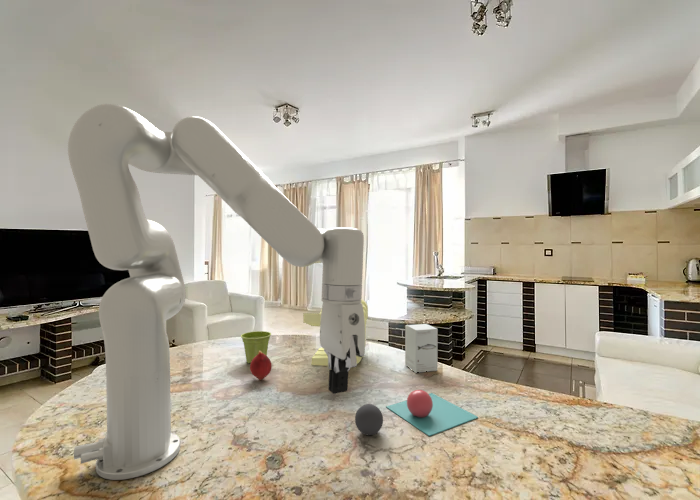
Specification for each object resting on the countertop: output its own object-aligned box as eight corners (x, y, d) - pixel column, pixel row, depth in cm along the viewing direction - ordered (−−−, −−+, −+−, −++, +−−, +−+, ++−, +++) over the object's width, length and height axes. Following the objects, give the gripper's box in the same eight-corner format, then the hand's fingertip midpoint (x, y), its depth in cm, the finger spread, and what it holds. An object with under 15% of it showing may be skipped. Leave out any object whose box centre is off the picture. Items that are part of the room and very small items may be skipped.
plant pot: (239, 359, 113) (239, 332, 113) (268, 355, 117) (267, 329, 116) (243, 368, 104) (243, 339, 104) (274, 363, 108) (274, 336, 108)
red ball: (434, 390, 73) (440, 412, 73) (417, 381, 77) (423, 402, 78) (415, 404, 70) (422, 427, 71) (398, 394, 75) (405, 415, 76)
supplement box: (415, 373, 99) (415, 330, 99) (404, 365, 106) (404, 324, 106) (438, 371, 101) (438, 328, 101) (426, 363, 108) (426, 322, 108)
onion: (274, 376, 98) (274, 348, 98) (267, 384, 92) (267, 354, 92) (254, 375, 98) (254, 347, 98) (246, 383, 92) (246, 353, 92)
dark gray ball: (384, 405, 66) (391, 430, 67) (368, 394, 71) (375, 417, 72) (361, 421, 63) (369, 446, 64) (346, 408, 68) (354, 432, 69)
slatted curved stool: (359, 377, 96) (358, 314, 96) (303, 375, 98) (303, 313, 98) (367, 346, 126) (367, 298, 126) (325, 345, 128) (325, 297, 128)
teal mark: (429, 436, 66) (429, 435, 66) (386, 407, 78) (386, 406, 78) (478, 417, 73) (478, 416, 73) (431, 393, 85) (431, 392, 85)
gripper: (381, 298, 60) (377, 403, 60) (340, 288, 73) (336, 374, 73) (343, 300, 56) (339, 412, 56) (307, 289, 69) (304, 380, 69)
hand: (338, 390), depth 64 cm, fingers closed
